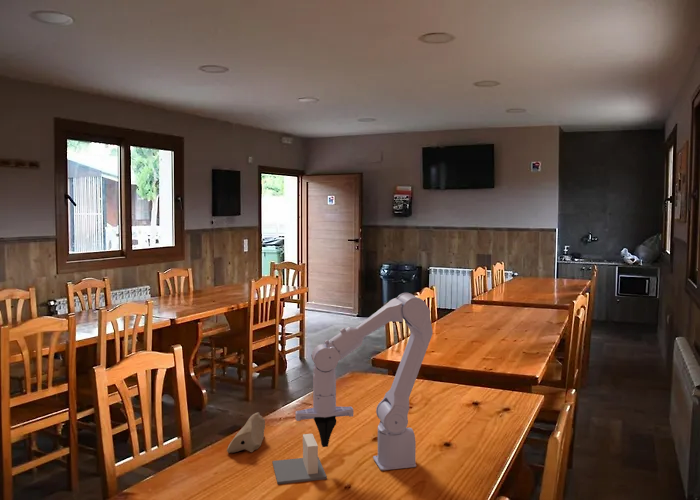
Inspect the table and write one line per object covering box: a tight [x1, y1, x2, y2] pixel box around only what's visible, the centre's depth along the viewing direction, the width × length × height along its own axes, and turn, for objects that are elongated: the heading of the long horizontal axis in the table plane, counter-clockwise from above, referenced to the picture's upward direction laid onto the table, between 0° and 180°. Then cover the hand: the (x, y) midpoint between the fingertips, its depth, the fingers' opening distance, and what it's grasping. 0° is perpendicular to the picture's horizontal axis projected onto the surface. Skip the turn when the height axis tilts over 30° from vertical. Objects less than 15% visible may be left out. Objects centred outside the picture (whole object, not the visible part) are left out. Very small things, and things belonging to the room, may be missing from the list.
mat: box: [272, 456, 328, 485], centre depth 150 cm, size 12×12×1 cm
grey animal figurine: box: [226, 412, 266, 454], centre depth 166 cm, size 8×14×8 cm, turn 170°
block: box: [302, 433, 319, 474], centre depth 151 cm, size 2×8×7 cm, turn 13°
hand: (324, 445), depth 151 cm, fingers closed
